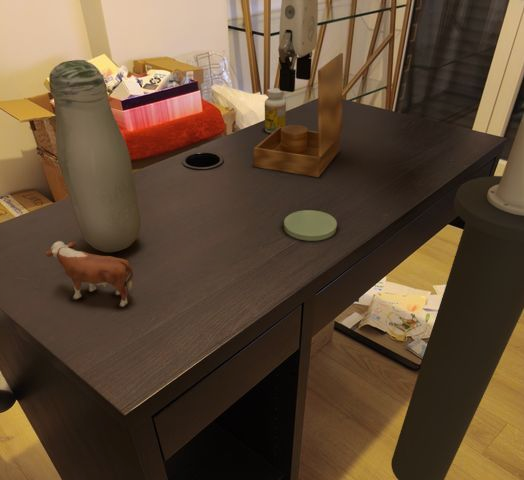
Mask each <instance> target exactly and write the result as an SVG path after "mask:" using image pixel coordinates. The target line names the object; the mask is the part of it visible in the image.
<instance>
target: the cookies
mask: <svg viewBox="0 0 524 480" xmlns="http://www.w3.org/2000/svg"><path fill="white" fill-rule="evenodd" d="M308 131H309V130H308V127H306V126H304V125H300V124H288V125H285V126H284V127H282V128H281V150H280V151H281V152H288V153H294V154H301V155H306V154H307V136H308Z"/></svg>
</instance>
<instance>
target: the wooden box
mask: <svg viewBox="0 0 524 480" xmlns="http://www.w3.org/2000/svg"><path fill="white" fill-rule="evenodd" d="M281 128H282V127H278V128H277V129H276V130H275V131H274V132H272V133H269V134H268V135H267V136H266V137H265V138H264V139H262V141H261V142H259V143H258V144H257V145H256V146H255V147H254V148H253V167H254V168H260V169H264V170H265V169H266V170H272V171H277V172H278V171H279V172H284V173H290V174H295V175H301V176H309V177H314V178H319V177H320V176H321V175H322V174H323V172H324V171H325V170H326V169H327V167H328V166H329V165H330V164H331V162H332V161H333V160H334V159H335V157H336V156H337V155H338V154H339V150H340V139H341V134H340V135H339V137H338V138H337V139H336V140H335V141H334V142H333V144H332V145H331V146H330V147H329V148H328V149H327V151H326V152H325V153H324V154H323V155H322V156H321V157H319V138H318V131H314V130H308V136H307V154H306V155H301V154H294V153H288V152H281V151H280V150H281Z"/></svg>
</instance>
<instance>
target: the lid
mask: <svg viewBox="0 0 524 480" xmlns="http://www.w3.org/2000/svg"><path fill="white" fill-rule="evenodd" d="M343 71H344V53H343V52H340V53H339V54H337V55H336V56H335V57H334V58H332V59H331V60H330V61H328V62H327V63H326V64H324V65H323V66H321V67H320V68H319V69H317V120H318V121H317V122H318V125H317V126H318V131H317V132H318V138H319V157H321V156H322V155H323V154H324V153H325V152H326V151H327V149H328V148H329V147H330V146H331V145H332V144H333V142H334V141H335V140H336V139H337V138H338V137H339V135H340V136H341V134H342V131H343V130H342V127H343V126H342V125H343V124H342V123H343V83H344V82H343V78H344V75H343V74H344V72H343Z"/></svg>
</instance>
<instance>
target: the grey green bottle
mask: <svg viewBox="0 0 524 480" xmlns="http://www.w3.org/2000/svg"><path fill="white" fill-rule="evenodd" d="M48 78H49V79H48V81H49V82H48V84H49V90H50V94H51V96H52V99H53V104H54V106H53V107H54V114H55V115H54V116H55V145H56V146H55V147H56V157H57V162H58V165H59V168H60V172H61V175H62V178H63V183H64V184H65V188H66V192H67V195H68V198H69V201H70V204H71V207H72V210H73V213H74V217H75V220H76V223H77V226H78V228H79V231H80V233H81V235H82V237H83V239H84V240H85V241H86V243H87V244H88V245H89V246H91V247H92V248H94V249H95V250H97V251H99V252H103V253H116V252H121V251H122V250H125V249H127V248H129V247H130V246H131V245H133V244H134V242H135V241H136V240H137V238H138V236H139V234H140V230H141V223H142V222H141V221H142V220H141V213H140V207H139V202H138V197H137V196H138V195H137V192H136V185H135V184H136V183H135V177H134V172H133V166H132V160H131V155H130V152H129V148H128V145H127V143H126V140H125V138H124V136H123V135H124V134H123V133H122V131H121V128H120V126H119V124H118V121H117V120H116V118H115V115H114V113H113V110H112V107H111V103H110V100H109V95H108V88H107V87H108V86H107V84H106V80H105V79H104V76H103V75H102V73H101V71H100V70H99V68H98V67H97V66H96V65H94V64H93V63H92V62H89V61H87V60H85V59H75V60H67V61H62V62H60V63H59V64H57V65H56V66H55V67H53V68H52V70H51V71H50V73H49V76H48Z"/></svg>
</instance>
